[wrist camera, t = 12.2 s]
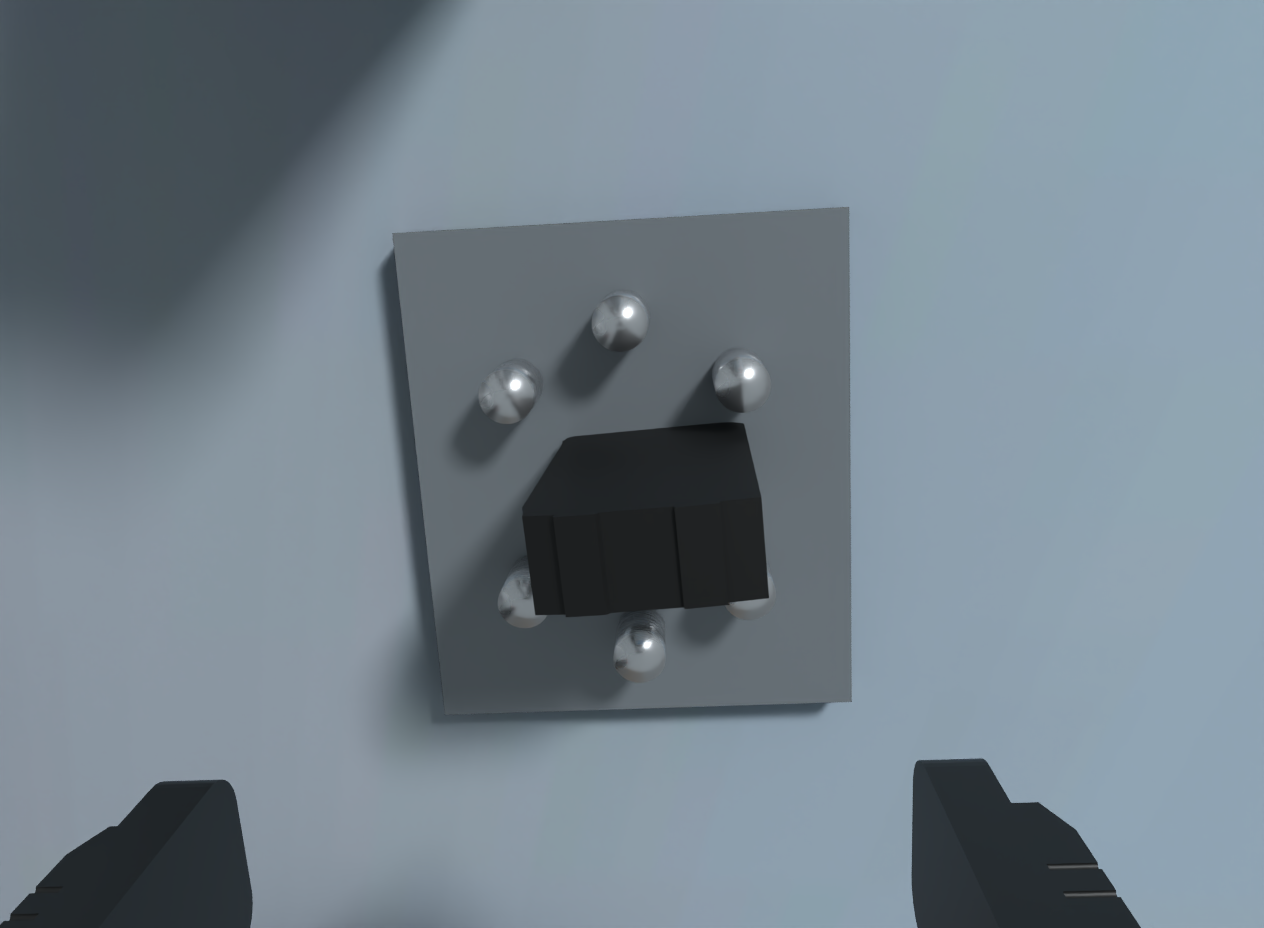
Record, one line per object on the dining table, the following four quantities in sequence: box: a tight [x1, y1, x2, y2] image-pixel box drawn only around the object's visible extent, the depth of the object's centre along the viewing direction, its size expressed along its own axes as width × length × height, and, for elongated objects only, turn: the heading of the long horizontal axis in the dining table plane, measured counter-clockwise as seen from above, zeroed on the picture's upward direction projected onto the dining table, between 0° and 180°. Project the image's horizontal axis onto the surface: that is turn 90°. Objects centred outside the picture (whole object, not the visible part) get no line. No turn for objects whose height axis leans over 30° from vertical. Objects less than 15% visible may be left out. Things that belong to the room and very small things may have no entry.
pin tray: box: [392, 207, 852, 715], centre depth 27 cm, size 12×14×3 cm
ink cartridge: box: [522, 422, 769, 617], centre depth 24 cm, size 5×2×8 cm, turn 96°
